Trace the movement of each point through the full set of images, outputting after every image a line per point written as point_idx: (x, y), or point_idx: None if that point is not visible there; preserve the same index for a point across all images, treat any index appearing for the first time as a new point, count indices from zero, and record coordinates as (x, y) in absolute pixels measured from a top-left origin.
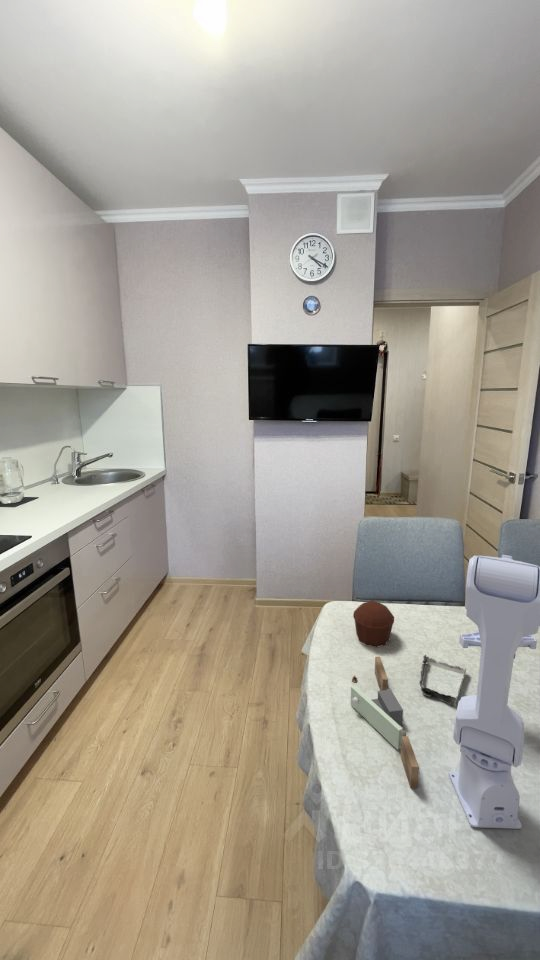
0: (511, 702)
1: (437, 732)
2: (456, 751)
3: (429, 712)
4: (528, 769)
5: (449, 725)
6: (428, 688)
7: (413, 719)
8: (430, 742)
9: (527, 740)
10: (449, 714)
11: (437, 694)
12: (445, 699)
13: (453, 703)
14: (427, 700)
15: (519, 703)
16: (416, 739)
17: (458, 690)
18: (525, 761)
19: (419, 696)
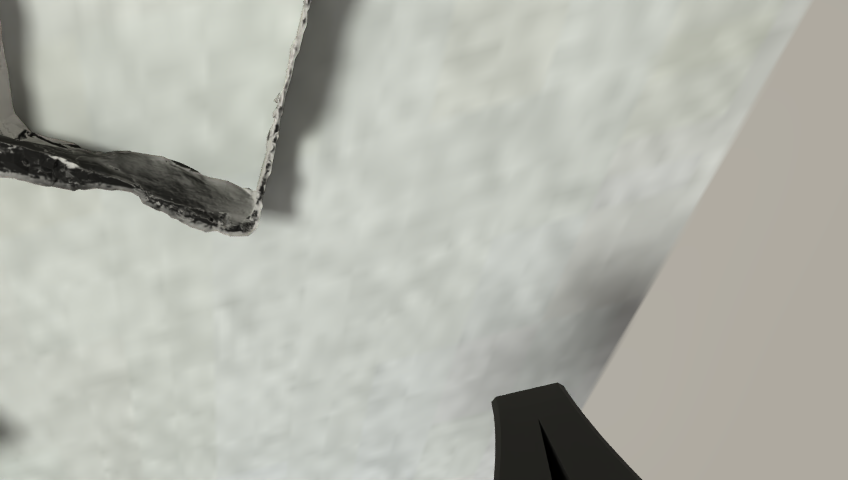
0: (660, 47)
1: (163, 402)
2: (256, 468)
3: (100, 287)
4: None
5: (224, 345)
6: (34, 153)
7: (18, 360)
8: (135, 459)
9: (609, 329)
10: (223, 270)
11: (120, 170)
12: (187, 181)
13: (244, 198)
14: None
15: (713, 43)
16: (66, 463)
17: (272, 131)
18: None
19: None
